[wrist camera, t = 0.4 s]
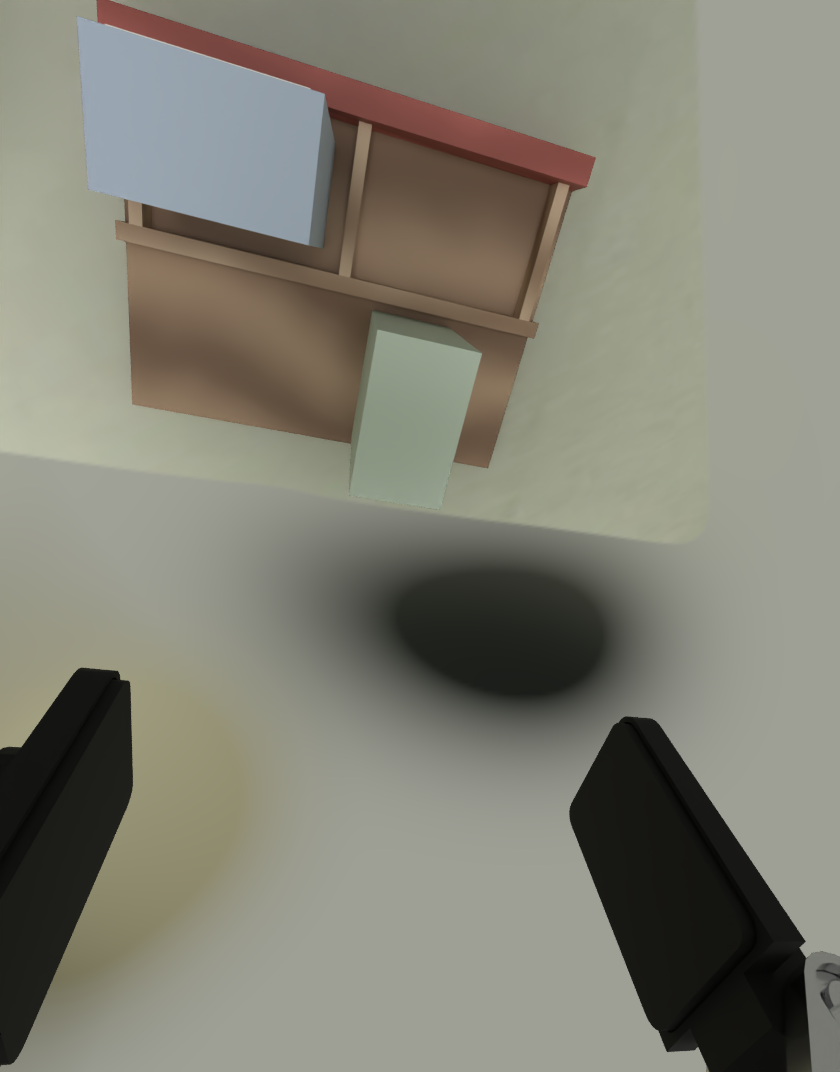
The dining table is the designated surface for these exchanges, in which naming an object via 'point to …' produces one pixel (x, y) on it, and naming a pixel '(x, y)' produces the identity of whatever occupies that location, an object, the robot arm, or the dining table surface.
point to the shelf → (346, 260)
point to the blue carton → (204, 136)
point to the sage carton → (410, 410)
